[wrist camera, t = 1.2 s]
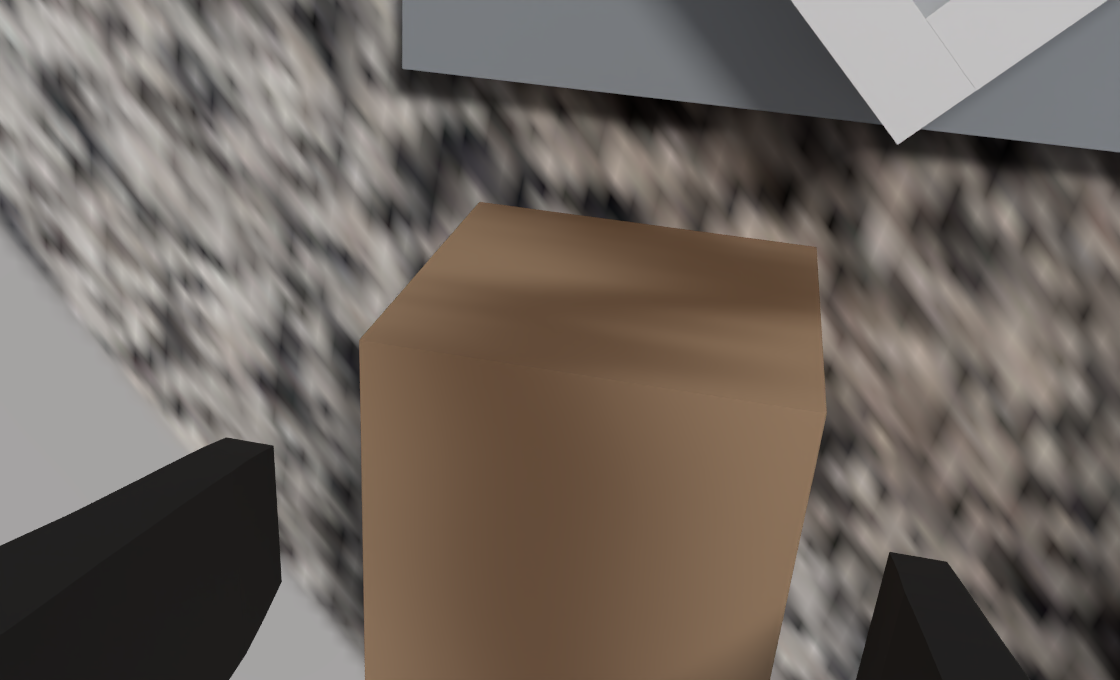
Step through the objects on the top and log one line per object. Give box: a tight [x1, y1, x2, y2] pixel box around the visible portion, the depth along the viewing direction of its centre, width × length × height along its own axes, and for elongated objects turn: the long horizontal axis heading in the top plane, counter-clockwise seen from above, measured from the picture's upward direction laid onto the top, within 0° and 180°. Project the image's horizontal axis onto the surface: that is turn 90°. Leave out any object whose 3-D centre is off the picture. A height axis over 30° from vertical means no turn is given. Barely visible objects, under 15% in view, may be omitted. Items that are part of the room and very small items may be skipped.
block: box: [359, 202, 827, 680], centre depth 14 cm, size 5×5×5 cm
